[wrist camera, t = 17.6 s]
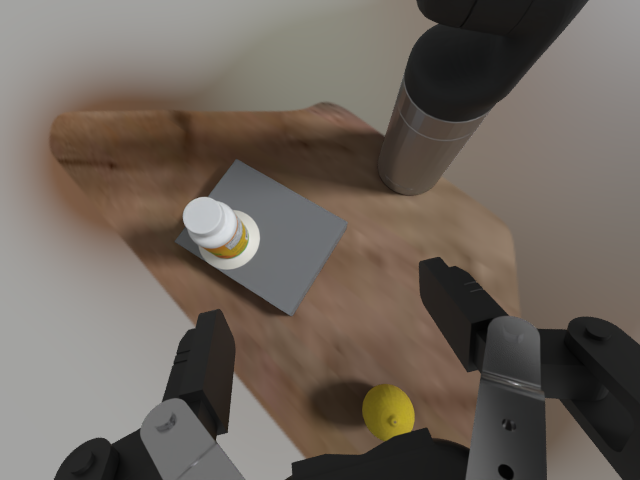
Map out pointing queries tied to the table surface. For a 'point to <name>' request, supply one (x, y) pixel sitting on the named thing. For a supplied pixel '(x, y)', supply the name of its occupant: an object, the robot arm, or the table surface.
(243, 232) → the supplement bottle
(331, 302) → the table surface
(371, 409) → the lemon
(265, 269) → the plinth
